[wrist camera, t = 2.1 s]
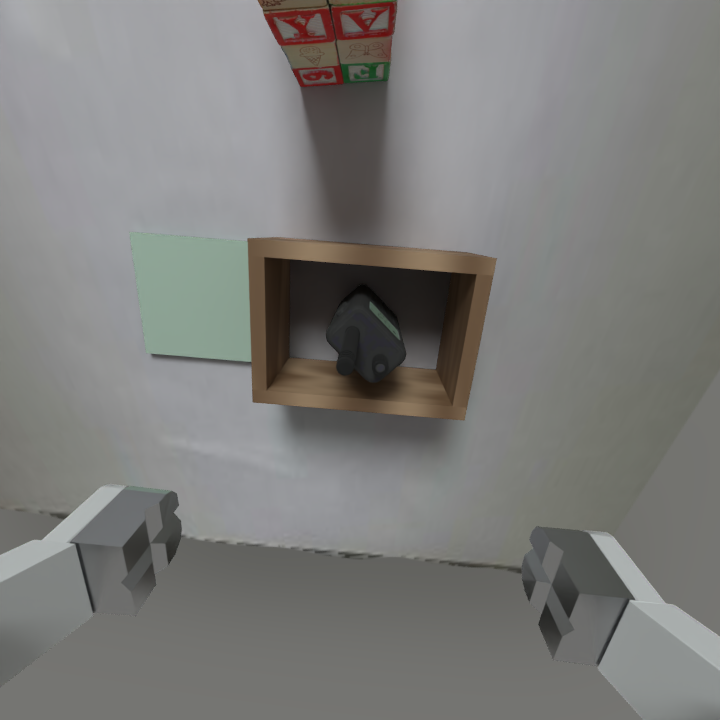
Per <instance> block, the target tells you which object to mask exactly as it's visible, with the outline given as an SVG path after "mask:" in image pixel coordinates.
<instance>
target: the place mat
mask: <svg viewBox="0 0 720 720" xmlns="http://www.w3.org/2000/svg"><path fill="white" fill-rule="evenodd" d="M129 233H130V240H131V248H132V255H133V262H134V269H135V276H136V283H137V291H138V298H139V305H140V312H141V319H142V327H143V334H144V341H145V348H146V353H151V354H163V355H174V356H186V357H198V358H210V359H222V360H234V361H245V362H251V332H250V301H249V270H248V241H236V240H223V239H211V238H198V237H186V236H174V235H161V234H149V233H136V232H129Z"/></svg>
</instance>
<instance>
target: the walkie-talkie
mask: <svg viewBox="0 0 720 720" xmlns="http://www.w3.org/2000/svg"><path fill="white" fill-rule="evenodd" d="M326 338H327V341H328V342H329V344H330V345H331V346H332V347H333V348H334V349H335V350H336V351H337V352H338V353H339V357H338V360H337V364H336V369H337V372H338V373H339V374H341V375H343V376H347V375H350V374H351V373H352V372H353V370H354V369H355V370H356V371H357V372H358V373H359V374H360V375H361V376H362V377H363V378H364V379H365V380H367V381H368V382H371V383H377V382H379V381H381V380H382V379H383V378H384V377H386V376H387V375H388V374H389V373H390V372H391V371H393V370H394V369H395V368H396V367H397V366H399V365H400V364H401V363H402V362H403V361H404V359H405V357H406V351H405V347H404V343H403V339H402V336H401V332H400V328H399V324H398V320H397V317H396V316H395V314H394V313H393V312H392V311H391V310H390V309H389V308H388V307H387V306H386V304H385V303H384V302H383V301H382V300H381V299H380V298H379V297H378V296H377V295H376V294H375V293H374V291H373V290H372V289H371V288H370V287H368V286H367V285H359V286H357V287H356V288H355V289H354V290H353V291H352V292H351V293H350V294H349V295H348V296H347V297H346V298H345V299H344V300H343V301H342V302H341V303H340V305H339V307H338V309H337V311H336V313H335V315H334V317H333V319H332V322H331V324H330V326H329V328H328V330H327V333H326Z"/></svg>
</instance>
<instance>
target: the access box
mask: <svg viewBox="0 0 720 720" xmlns="http://www.w3.org/2000/svg"><path fill="white" fill-rule="evenodd" d="M290 259H295V260H307V261H319V262H332V263H344V264H356V265H368V266H381V267H393V268H405V269H418V270H430V271H442V272H452V273H451V279H450V285H449V292H448V298H447V304H446V310H445V317H444V323H443V329H442V335H441V342H440V348H439V354H438V360H437V367H436V370H433V369H421V368H409V367H396V368H395V369H394V370H393V371H391V372H390V373H389V374H388V375H387V376H386V377H384V378H383V379H382V380H381V381H379V382H377V383H371V382H368V381H367V380H365V379H364V378H363V377H362V376H361V375H360V374H359V373H358V372H357V371H356V370H355V369H354V370H353V372H352V373H351V374H350V375H347V376H343V375H341V374H339V373H338V372H337V369H336V364H337V361H326V360H314V359H302V358H290V357H289V335H290ZM496 260H497V259H496V258H492V257H487V256H482V255H477V254H472V253H467V252H455V251H442V250H430V249H418V248H405V247H393V246H380V245H368V244H355V243H343V242H330V241H318V240H306V239H293V238H281V237H271V238H248V270H249V301H250V332H251V364H252V395H253V402H256V403H267V404H279V405H291V406H302V407H314V408H326V409H337V410H349V411H361V412H372V413H384V414H396V415H407V416H419V417H431V418H442V419H454V420H465V415H466V410H467V405H468V400H469V395H470V390H471V385H472V380H473V375H474V370H475V365H476V360H477V355H478V350H479V345H480V340H481V335H482V330H483V325H484V320H485V315H486V310H487V305H488V300H489V295H490V290H491V285H492V280H493V275H494V270H495V265H496Z"/></svg>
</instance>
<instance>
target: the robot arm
mask: <svg viewBox="0 0 720 720" xmlns="http://www.w3.org/2000/svg"><path fill="white" fill-rule="evenodd" d="M178 506H179V503H178V497H177V493H175V492H173V491H168V490H160V489H152V488H144V487H136V486H123V485H115V484H107V485H104V486H102V487H100V488H99V489H98V490H97V491H96V492H95V493H94V494H92V495H91V496H90V497H89V498H88V499H87V500H86V501H85V502H84V503H82V504H81V505H80V506H79V507H78V508H77V509H76V510H75V511H74V512H72V513H71V514H70V515H69V516H68V517H67V518H66V519H65V520H63V521H62V522H61V523H60V524H59V525H58V526H57V527H56V528H55V529H53V530H52V531H51V532H50V533H49V534H48V535H47V536H46V537H45V538H44V539H43V540H32V541H30V542H28V543H26V544H23V545H21V546H19V547H17V548H15V549H13V550H10V551H8V552H6V553H4V554H1V555H0V687H1V686H2V685H4V684H5V683H6V682H8V681H9V680H10V679H12V678H13V677H14V676H16V675H17V674H18V673H20V672H21V671H22V670H23V669H25V668H26V667H27V666H29V665H30V664H31V663H33V662H34V661H35V660H36V659H38V658H39V657H40V656H41V655H43V654H44V653H46V652H47V651H48V650H49V649H51V648H52V647H53V646H55V645H56V644H57V643H59V642H60V641H61V640H62V639H64V638H65V637H66V636H68V635H69V634H70V633H72V632H73V631H74V630H75V629H77V628H78V627H79V626H81V625H82V624H83V623H84V622H86V621H87V620H88V619H90V618H91V617H92V616H93V613H102V614H115V615H129V616H136V615H137V614H138V612H139V610H140V609H141V607H142V606H143V604H144V603H145V601H146V600H147V598H148V596H149V595H150V593H151V592H152V590H153V589H154V587H155V586H156V579H155V574H156V573H158V572H160V571H161V570H163V569H164V568H166V567H167V566H168V565H169V564H170V562H171V560H172V559H173V557H174V555H175V554H176V551H177V548H178V545H179V542H180V539H181V531H182V527H181V520H180V519H179V518H178V517H177V516H176V515H175V514H174V511H175V510H176V509H177V507H178ZM529 540H530V542H531V544H532V546H533V549H532V550H530V551H529V552H528V553H526V554H525V556H524V559H523V563H522V581H523V585H524V590H525V593H526V595H527V598H528V600H529V603H531V605H532V606H533V607H534V608H536V610H537V611H539V613H541V617H540V620H539V624H538V625H539V627H540V630H541V632H542V635H543V637H544V639H545V641H546V644H547V647H548V649H549V651H550V654H551V656H552V659H553V660H556V661H563V662H571V663H578V664H585V665H592V666H598V670H599V671H600V672H601V673H602V674H603V676H604V677H606V679H607V680H608V681H609V682H610V683H611V684H612V686H613V687H614V688H615V689H616V690H617V691H618V692H619V693H620V694H621V696H622V697H623V698H624V699H625V700H626V701H627V702H628V703H629V705H630V706H631V707H632V708H633V709H634V710H635V711H636V712H637V713H638V715H639V716H640V717H642V719H643V720H720V636H718V635H717V634H715V633H714V632H712V631H711V630H709V629H708V628H707V627H705V626H704V625H702V624H701V623H700V622H698V621H697V620H695V619H694V618H692V617H691V616H689V615H688V614H687V613H685V612H684V611H682V610H681V609H679V608H678V607H677V606H675V605H672V604H666V603H665V602H664V601H663V599H662V598H661V597H660V596H659V594H658V593H657V592H656V590H655V589H654V588H653V587H652V585H651V584H650V583H649V582H648V580H647V579H646V578H645V577H644V575H643V574H642V573H641V571H640V570H639V569H638V568H637V566H636V565H635V564H634V562H633V561H632V560H631V559H630V557H629V556H628V555H627V554H626V552H625V551H624V550H623V548H622V547H621V546H620V545H619V543H618V542H617V541H616V539H615V538H614V537H613V536H611V535H610V534H608V533H607V532H599V531H586V530H582V531H580V530H572V529H560V528H549V527H538V526H536V527H535V529H534V530H533V531H532V533H531V536H530V539H529Z"/></svg>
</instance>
